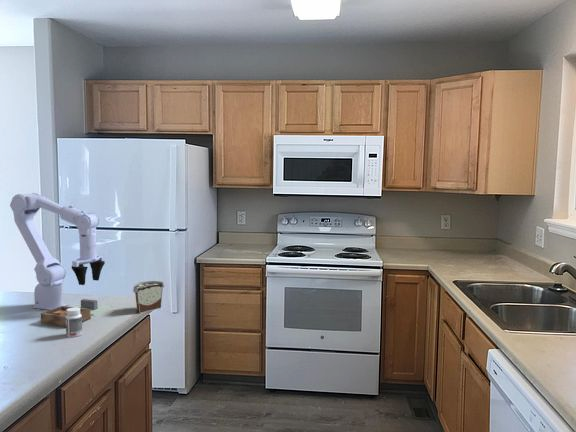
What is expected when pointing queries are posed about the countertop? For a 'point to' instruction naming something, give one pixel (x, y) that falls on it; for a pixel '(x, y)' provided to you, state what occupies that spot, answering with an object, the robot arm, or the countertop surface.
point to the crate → (62, 316)
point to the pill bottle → (73, 322)
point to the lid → (93, 306)
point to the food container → (148, 295)
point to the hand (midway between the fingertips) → (89, 282)
